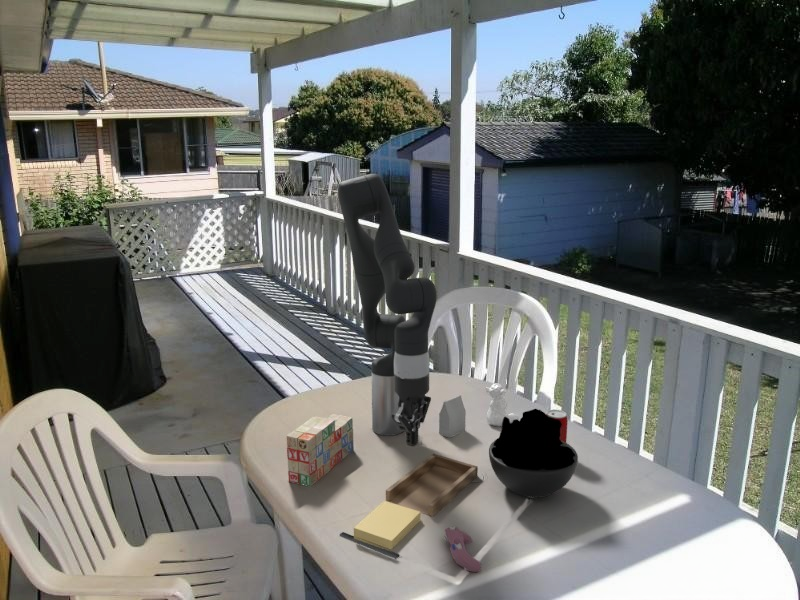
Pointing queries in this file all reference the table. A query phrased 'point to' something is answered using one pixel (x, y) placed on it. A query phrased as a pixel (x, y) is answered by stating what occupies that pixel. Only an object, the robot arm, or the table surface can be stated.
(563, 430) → the soda can
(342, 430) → the stack of blocks
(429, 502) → the walnut box
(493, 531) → the table surface
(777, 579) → the table surface
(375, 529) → the cover plate
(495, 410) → the sitting furry creature
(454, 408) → the grey gabled house block
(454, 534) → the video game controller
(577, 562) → the table surface
